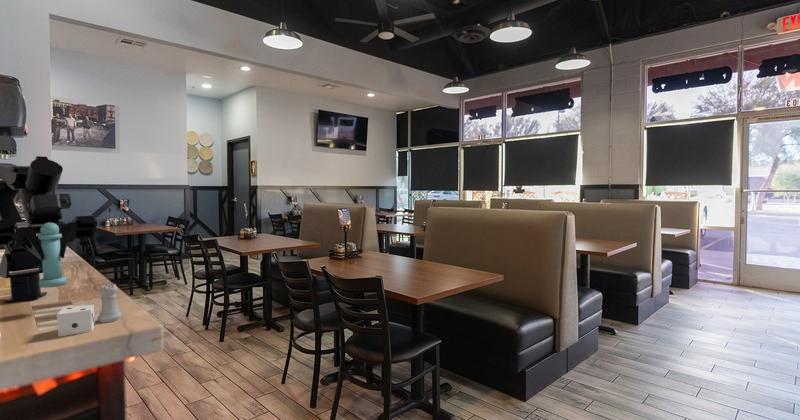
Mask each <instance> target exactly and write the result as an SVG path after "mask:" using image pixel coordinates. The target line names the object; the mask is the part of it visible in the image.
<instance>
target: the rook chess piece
mask: <svg viewBox="0 0 800 420" xmlns="http://www.w3.org/2000/svg"><path fill="white" fill-rule="evenodd" d="M118 290H119V288H118V287H117V283H111V284H109V283H108V284H103V285H101V286H100V289H99V291H98V292H99V293H100V294H101V297H100V300H101V310H100V312H99V315H98V316H97V321H98V322H99V323H102V324H104V323H105V324H107V323H113V322H116V321H119V320H121V319H122V316H124V315H123V313H122V312H121V310H120V309H119V306H118V302H117V297H118V295H117V291H118Z"/></svg>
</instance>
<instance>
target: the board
mask: <svg viewBox="0 0 800 420" xmlns="http://www.w3.org/2000/svg"><path fill="white" fill-rule="evenodd" d="M73 306H75V305H74V304H73V302H72V301H71V299H68V300H67V299H66V300H62V301H56V302H55V301H54V302H47V303H43V304H36V305H32V306H31V307H32V312H33V314H34V318H35V319H34V320H35V321H36V326H37V327H36V328H37V330H38V331H39V332H40V331H44V330H45V331H47V330H50V329H51V330H52V329H56V328H57V329H58V324H57V314H58V313H59V311H60V310H61V309H62V308H66V307H73Z"/></svg>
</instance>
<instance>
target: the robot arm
mask: <svg viewBox="0 0 800 420" xmlns="http://www.w3.org/2000/svg"><path fill="white" fill-rule="evenodd" d="M63 168H64V167H63V166H62V165H61V164H59V163H57V162H56V161H54V160H51V159H49V158H48V157H47V156H44V155H43V156H41V155H36V156H35V159H34V160H32V161H31V162H30V165H25V166H24V165H23V166H22V165H16V164H13V163H11V162H10V163H5V162H4V163H3V162H0V246H5V248H4V249H5V250H4V253H3V254H2V257H1V260H0V278H3V279H9V285H10V297H9V298H6V299H5V300H3V302H4V303H12V302H23V301H24V302H25V301H35V300H38V299H41V298H42V297H43V296H46V295H47V294H48V292H47V291H44V292H43V291H42V288H41V287H40V284H39V280H40V279H41V274H43V265H42V260H43V259H44V256H43V252H42V249H41V240H40V239H38V235H42V234H41V232H40V228H41V226H42V225H44V224H45V223H55V224H56V225H58V227H59V232H58V234H62V238H60V251H61V259H65V254H66V250H67V247H68V245H69V243H72V242H74V241H75V239H78V240H79V239H81V240H82V239H91V238H93V237H95V234H96V230H97V226H98V219H97V217H96V216H95V215H93V214H92V215H91V214H90V215H75V216H74V218H73V219H74V220H73V222H67V221H61V220H63V214H62V210H68V209H69V210H70V209H71V207H72V198H71V196H70V195H71V194H70V193H58V194H53V193H52V192H56V191H57V189H58V188H57V187H58V186H59V183H60V179H61V177H62V174H63V170H64V169H63ZM18 195H20V200H21V201H20V202H21V205H22V208H23V212H24V213H23V214H24V217H25V221H24V220H23V219H22V216H21V214H20V212H19V210H18V207H17V206H16V202H17V197H18Z"/></svg>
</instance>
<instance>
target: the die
mask: <svg viewBox="0 0 800 420" xmlns="http://www.w3.org/2000/svg"><path fill="white" fill-rule="evenodd" d="M57 324H58V327H57V337H59V338H60V337H64V336H65V337H66V336H72V335H78V334H83V333H91V332H93V330H94V327H95V326H96V312H95V304H94V303H91V304H82V305H76V306H75V305H74V306H73V307H66V308H62V309H61V310H60V311H59V313H58V314H57Z"/></svg>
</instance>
